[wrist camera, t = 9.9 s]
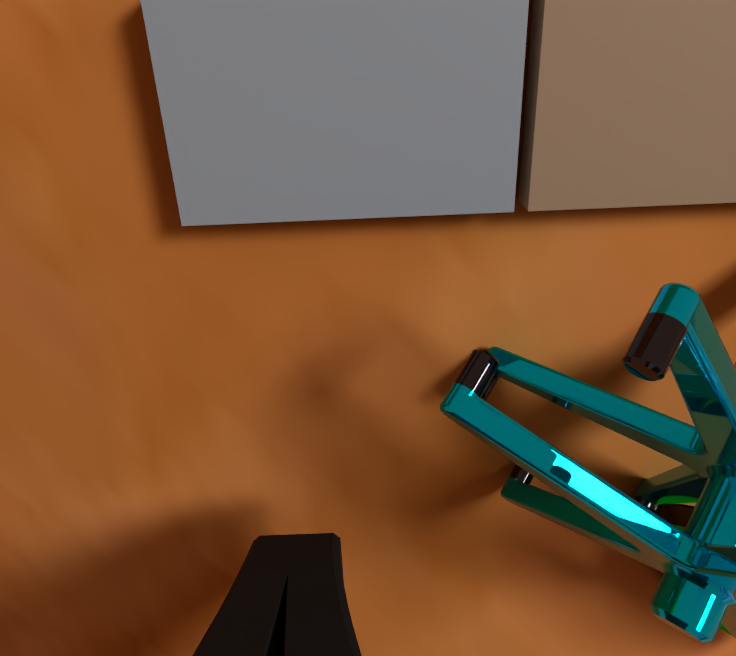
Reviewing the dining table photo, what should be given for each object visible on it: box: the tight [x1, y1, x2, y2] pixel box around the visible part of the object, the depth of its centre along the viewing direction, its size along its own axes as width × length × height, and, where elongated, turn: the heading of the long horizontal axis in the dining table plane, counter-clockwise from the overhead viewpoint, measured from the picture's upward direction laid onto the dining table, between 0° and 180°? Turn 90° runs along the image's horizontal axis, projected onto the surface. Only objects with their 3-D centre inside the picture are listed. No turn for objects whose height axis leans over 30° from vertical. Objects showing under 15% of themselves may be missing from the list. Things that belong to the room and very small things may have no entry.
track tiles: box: [140, 0, 736, 226], centre depth 8 cm, size 3×15×1 cm, turn 92°
